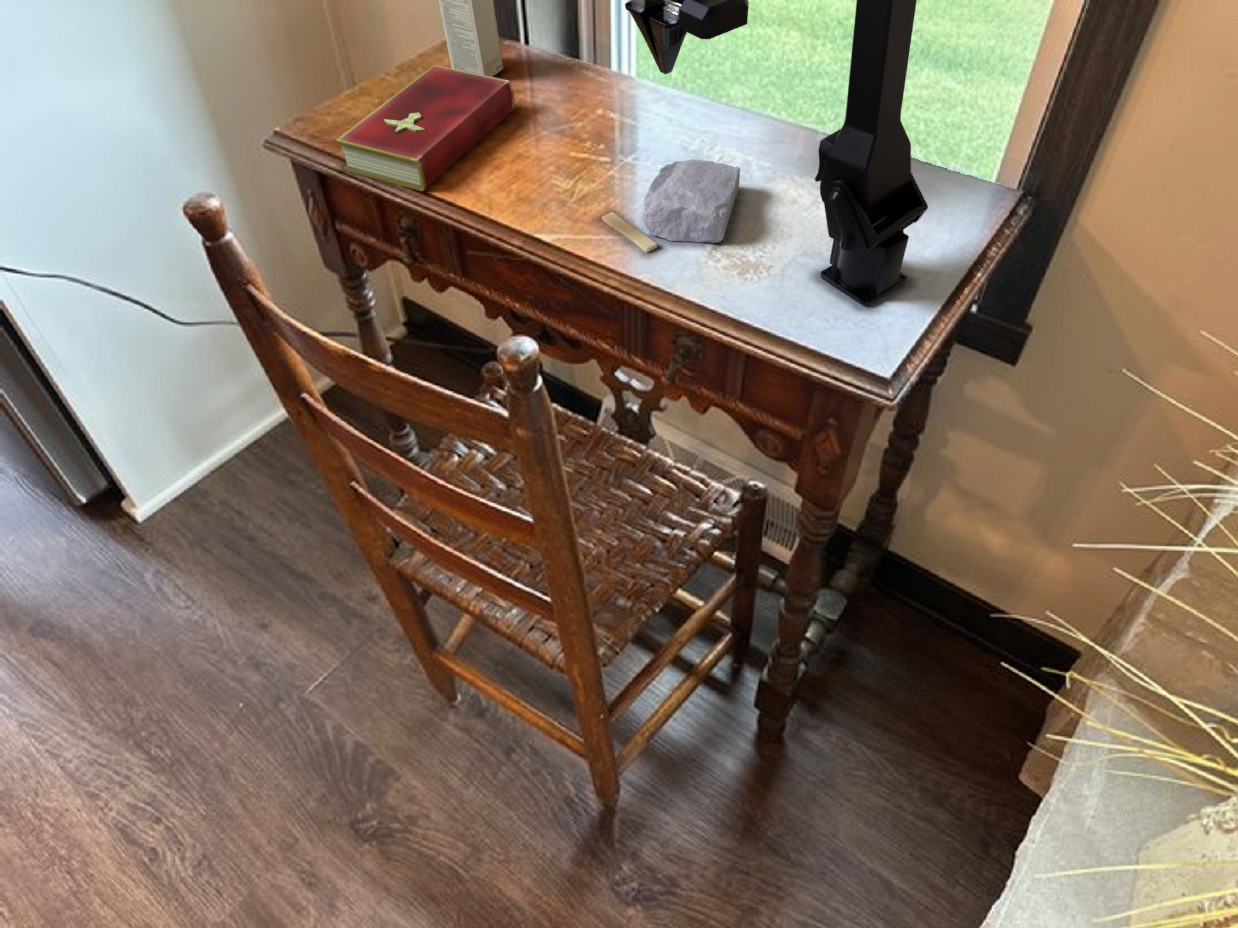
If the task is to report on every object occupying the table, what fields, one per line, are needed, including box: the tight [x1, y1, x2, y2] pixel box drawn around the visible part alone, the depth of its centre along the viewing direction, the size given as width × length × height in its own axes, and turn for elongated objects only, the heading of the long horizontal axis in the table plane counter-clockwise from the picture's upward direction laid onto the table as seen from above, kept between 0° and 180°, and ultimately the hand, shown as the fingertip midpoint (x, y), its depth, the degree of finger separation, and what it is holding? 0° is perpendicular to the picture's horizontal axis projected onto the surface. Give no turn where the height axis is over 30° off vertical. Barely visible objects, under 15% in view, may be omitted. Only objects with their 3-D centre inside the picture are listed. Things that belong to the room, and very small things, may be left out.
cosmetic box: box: [438, 0, 504, 77], centre depth 123 cm, size 6×4×12 cm
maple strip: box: [601, 211, 658, 253], centre depth 101 cm, size 8×2×1 cm, turn 38°
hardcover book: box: [334, 63, 515, 192], centre depth 114 cm, size 12×21×4 cm, turn 154°
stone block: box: [642, 158, 741, 244], centre depth 102 cm, size 12×5×10 cm
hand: (666, 72), depth 100 cm, fingers closed
